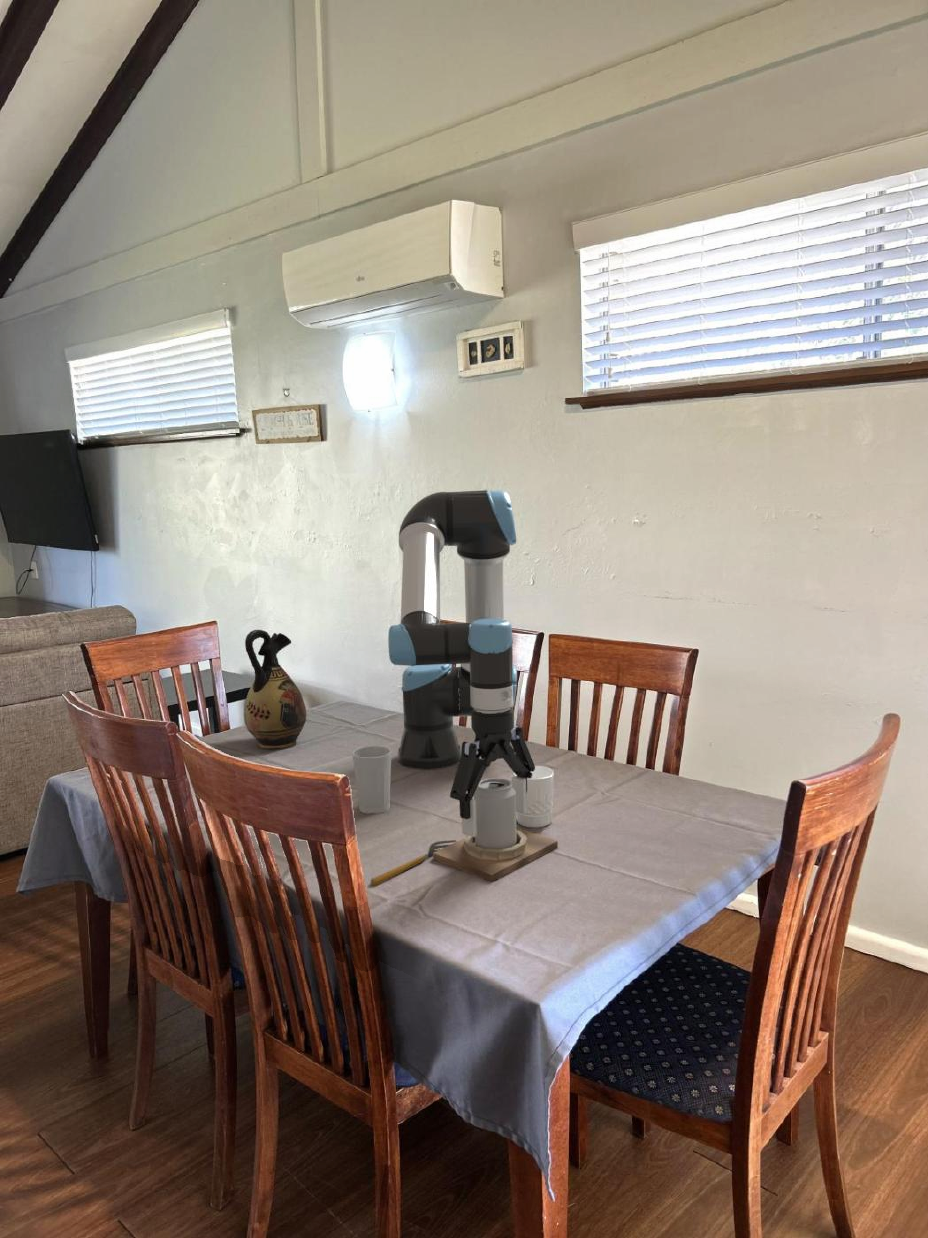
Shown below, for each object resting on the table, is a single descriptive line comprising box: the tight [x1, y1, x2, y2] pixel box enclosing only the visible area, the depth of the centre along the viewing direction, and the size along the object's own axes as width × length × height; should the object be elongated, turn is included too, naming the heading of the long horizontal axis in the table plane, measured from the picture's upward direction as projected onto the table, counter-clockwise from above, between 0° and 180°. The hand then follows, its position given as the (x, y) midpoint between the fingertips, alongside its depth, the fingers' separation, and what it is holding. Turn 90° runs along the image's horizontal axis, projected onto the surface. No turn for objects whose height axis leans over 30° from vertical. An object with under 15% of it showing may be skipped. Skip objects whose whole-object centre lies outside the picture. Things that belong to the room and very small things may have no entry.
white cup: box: [512, 765, 555, 828], centre depth 180 cm, size 8×8×10 cm
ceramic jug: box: [243, 629, 307, 749], centre depth 233 cm, size 17×15×30 cm
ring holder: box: [432, 827, 559, 882], centre depth 166 cm, size 18×14×3 cm
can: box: [473, 777, 517, 850], centre depth 165 cm, size 8×8×12 cm
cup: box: [351, 745, 392, 814], centre depth 189 cm, size 8×8×12 cm
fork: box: [370, 839, 457, 887], centre depth 162 cm, size 2×2×20 cm
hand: (495, 823), depth 165 cm, fingers open, 13 cm apart
